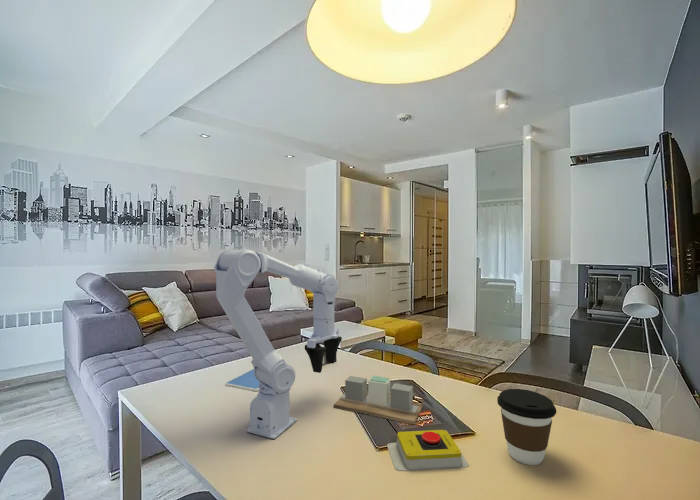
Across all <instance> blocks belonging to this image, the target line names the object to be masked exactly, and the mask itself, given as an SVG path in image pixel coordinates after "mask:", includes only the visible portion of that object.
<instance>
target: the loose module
mask: <svg viewBox="0 0 700 500" xmlns="http://www.w3.org/2000/svg"><path fill="white" fill-rule="evenodd" d="M367 394H368V403H371V404H376V405H381V406H387V405H388V404H389V402H390V398H391V378H390V377H385V376H378V375H373V376H372V377H370V378H369V380H367Z"/></svg>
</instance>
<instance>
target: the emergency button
mask: <svg viewBox="0 0 700 500" xmlns="http://www.w3.org/2000/svg"><path fill="white" fill-rule="evenodd" d="M386 447H387V450H388V453H389V455H390V458H391V462H392V464H393V467H394V470H396V471H398V472H408V471H410V472H411V471H426V470H429V471H430V470H442V469H444V470H445V469H458V468H459V469H461V468H468V467H469V465H470V464H469V462H468V461H467V459H466V457H465V456H464V455H463V453H462V452H461V451H462V450H461V449H460V448H459V447H458V445H457V443H456V442H455V441H454V438H452V435H450V434H449V432H448V431H447V430H446V429H431V430H430V429H429V430H428V429H427V430H411V431H409V430H408V431H406V430H405V431H398V432H397V435H396V442H390V443H387V445H386Z"/></svg>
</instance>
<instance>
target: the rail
mask: <svg viewBox="0 0 700 500" xmlns="http://www.w3.org/2000/svg"><path fill="white" fill-rule="evenodd" d="M339 399H340V400H343V401H348V402H353V403H358V404H363V405H368V406H373V407H378V408H383V409H388V410H393V411H398V412H403V413H408V414H413V415H416V413H417V411H418V406H414V405H413V406H412V408H411V409H410V411H406V410H401V409H396V408H391V401H390V402H389V404H388V405H387V406H381V405H376V404H371V403H368V397H366V398H365V399H364V400H363V401H362V402H361V401H356V400H351V399H346V398H345V393H343V394H342V395H341V396H340V397H339Z"/></svg>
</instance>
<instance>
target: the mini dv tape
mask: <svg viewBox="0 0 700 500" xmlns="http://www.w3.org/2000/svg"><path fill="white" fill-rule="evenodd" d="M334 363H337V357H336V358H335V362H334ZM329 364H330V365H331V364H332V363H327V361H326V354H325V353H324V357H323V364H322V367H324V366H327V365H329Z"/></svg>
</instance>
